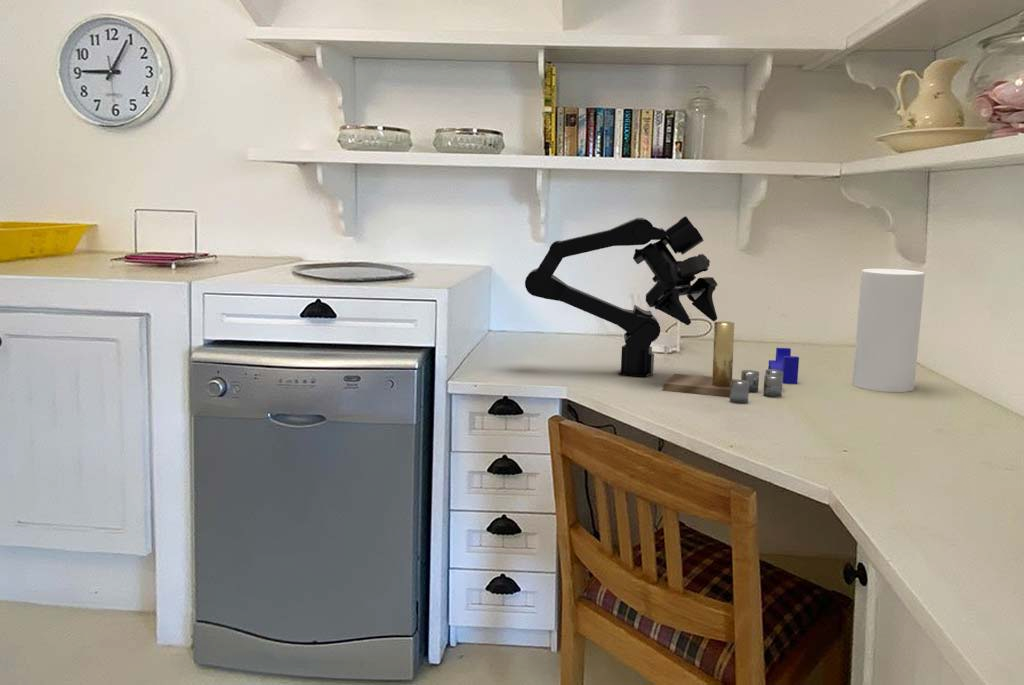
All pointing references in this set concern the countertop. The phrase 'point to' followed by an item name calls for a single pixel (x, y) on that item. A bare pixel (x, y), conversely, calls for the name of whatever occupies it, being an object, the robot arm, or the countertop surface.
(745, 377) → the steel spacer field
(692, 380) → the brown wooden board
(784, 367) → the cable clip
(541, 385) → the countertop surface
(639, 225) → the robot arm
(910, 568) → the countertop surface
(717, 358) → the cylinder
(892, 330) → the cylinder
